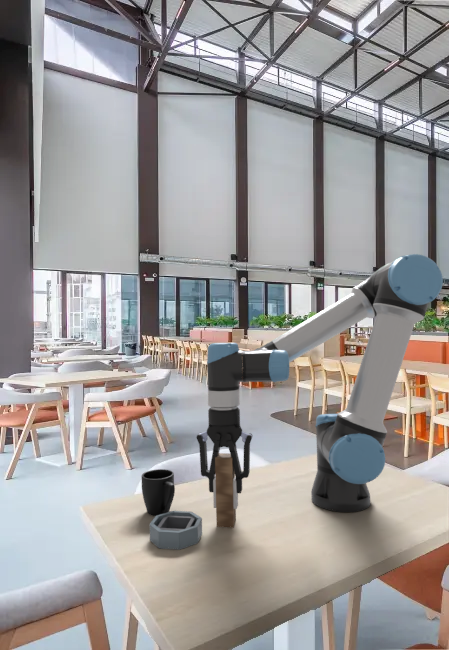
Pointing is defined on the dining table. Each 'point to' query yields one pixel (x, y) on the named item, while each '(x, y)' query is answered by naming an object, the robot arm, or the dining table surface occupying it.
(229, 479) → the wooden post
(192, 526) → the octagonal peg hole ring
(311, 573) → the dining table surface
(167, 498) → the mug
